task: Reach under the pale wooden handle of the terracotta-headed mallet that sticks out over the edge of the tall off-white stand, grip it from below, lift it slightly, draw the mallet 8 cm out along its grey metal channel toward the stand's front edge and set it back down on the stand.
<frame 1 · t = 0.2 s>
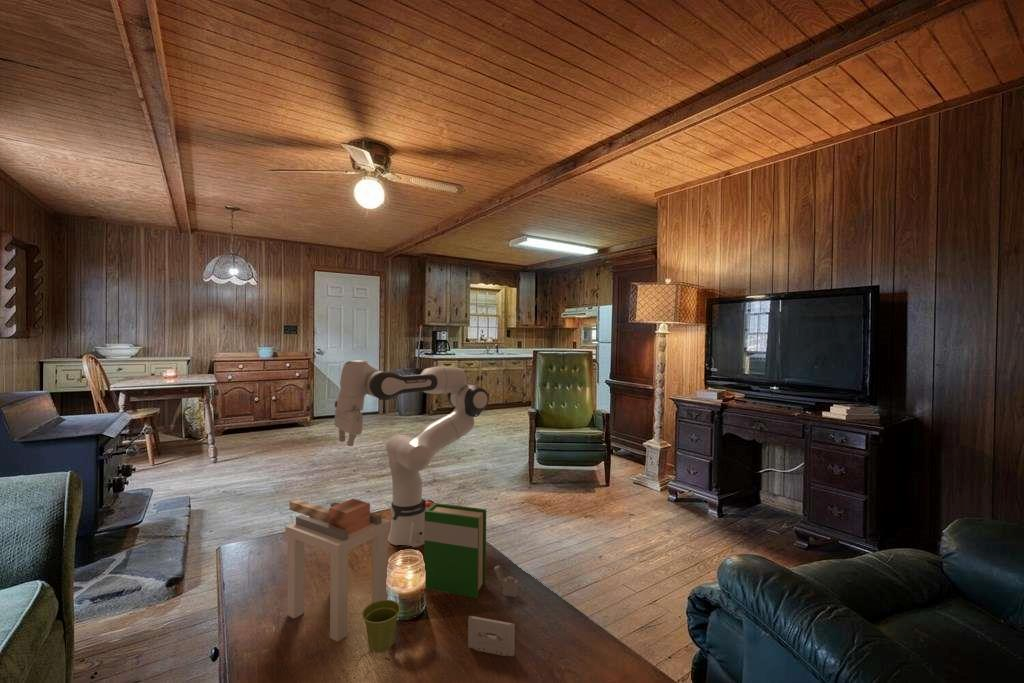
hand: (345, 443, 158), 40 cm above the table, tool pointing down, fingers open, 8 cm apart
cassette: (491, 651, 110), on the table
stand: (338, 611, 126), on the table
plant pot: (381, 645, 112), on the table
hardback book: (455, 587, 139), on the table
lighter: (505, 594, 135), on the table
mallet: (327, 519, 128), point 25 cm above the table, touching stand
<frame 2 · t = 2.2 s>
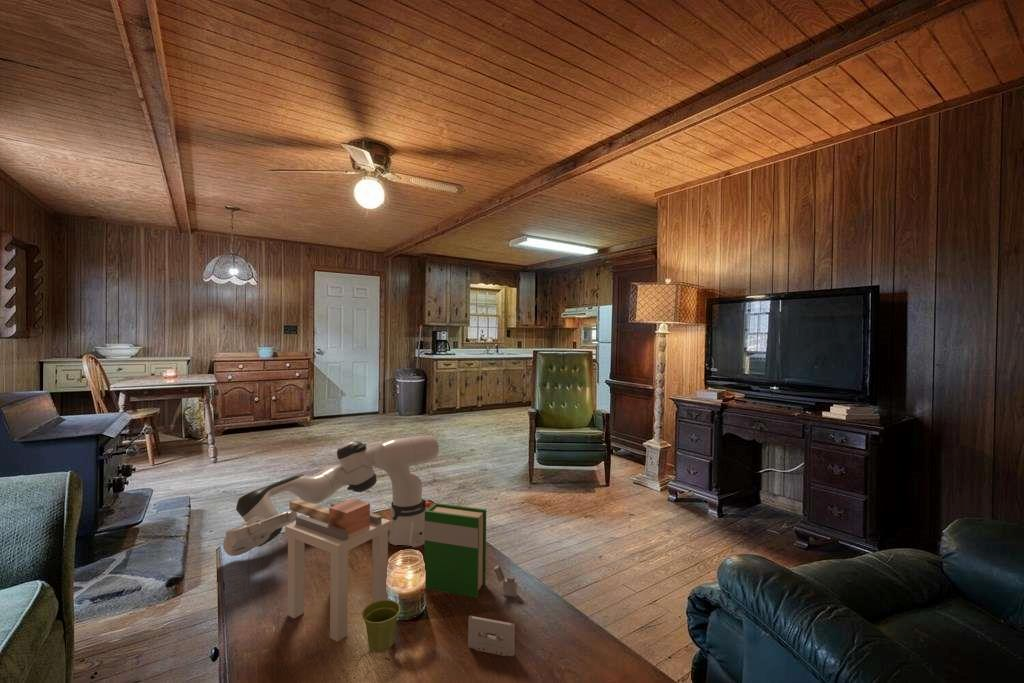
hand: (276, 519, 140), 20 cm above the table, tool pointing upward, fingers open, 8 cm apart
nothing on the table moved.
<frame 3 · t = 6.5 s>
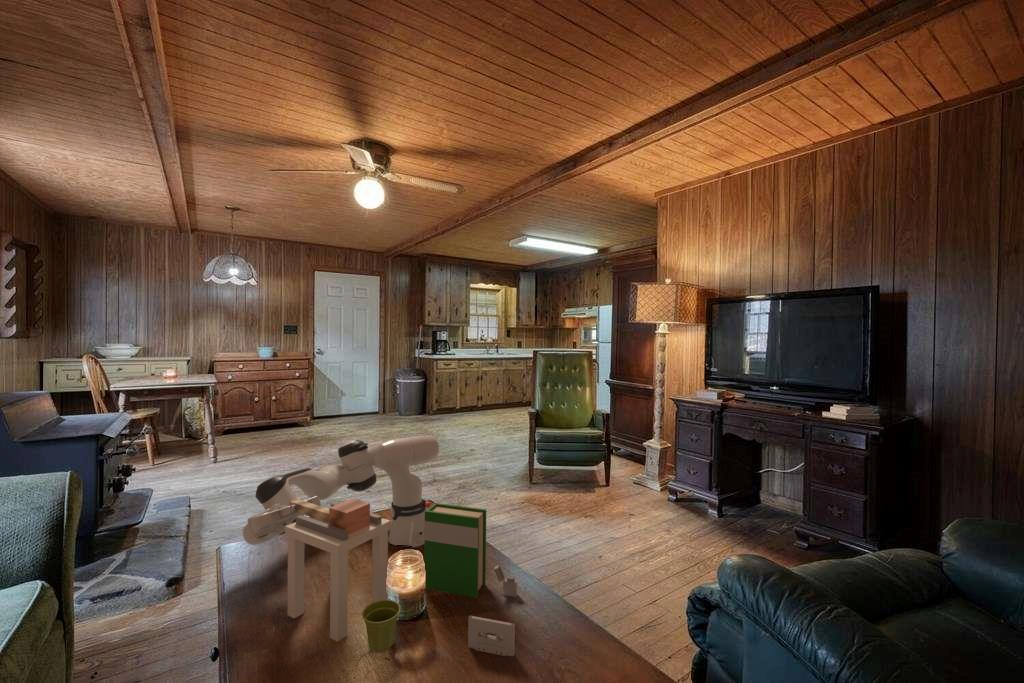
hand: (301, 505, 134), 27 cm above the table, tool pointing upward, fingers closed on mallet, 2 cm apart
mallet: (327, 519, 128), point 25 cm above the table, touching gripper, stand
everything else where it was.
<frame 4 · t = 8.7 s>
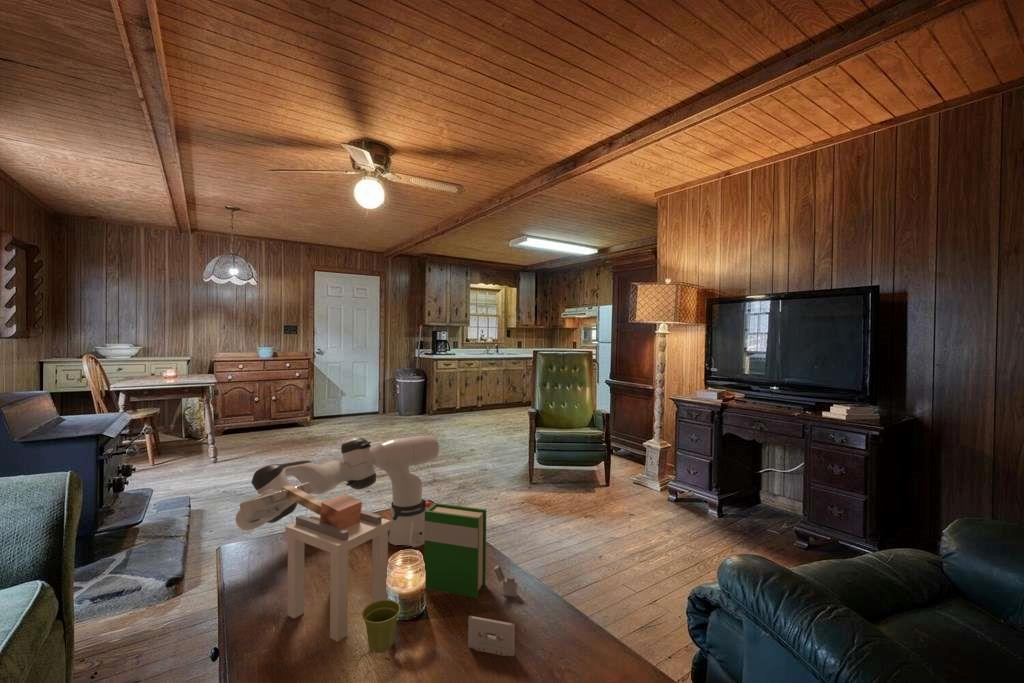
hand: (292, 490, 136), 31 cm above the table, tool pointing upward, fingers closed on mallet, 2 cm apart
mallet: (318, 510, 130), point 27 cm above the table, tilted 8°, touching gripper
everything else where it was.
when the fingers open (28 cm above the table, at t = 10.8 s): mallet stays where it is, resting on stand.
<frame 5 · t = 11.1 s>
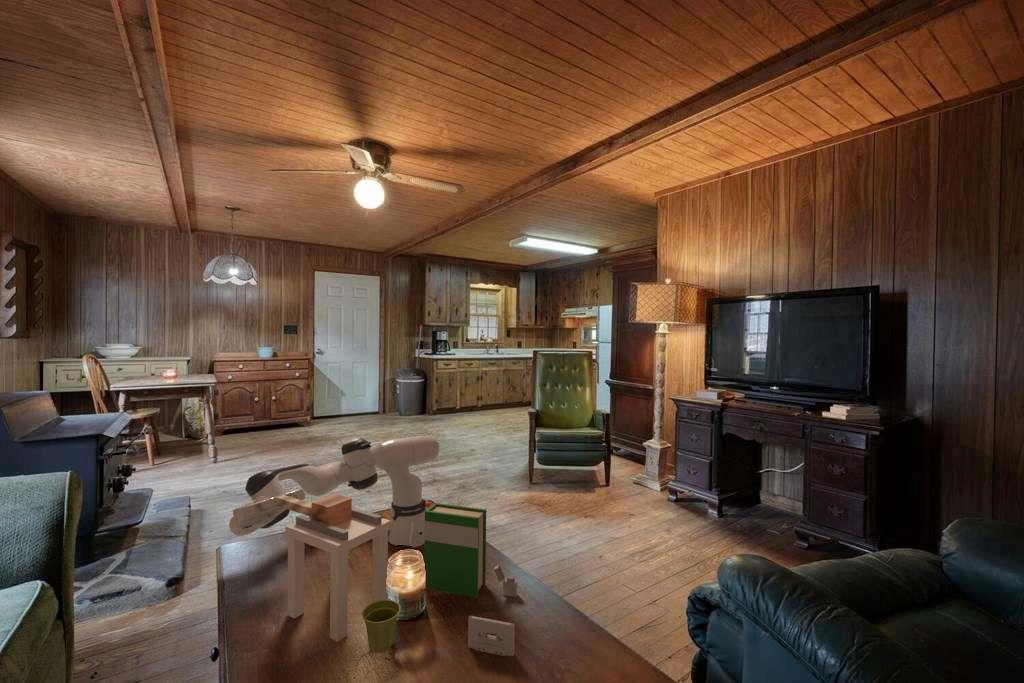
hand: (284, 496, 138), 28 cm above the table, tool pointing upward, fingers open, 5 cm apart
mallet: (310, 514, 132), point 25 cm above the table, touching stand
everything else where it was.
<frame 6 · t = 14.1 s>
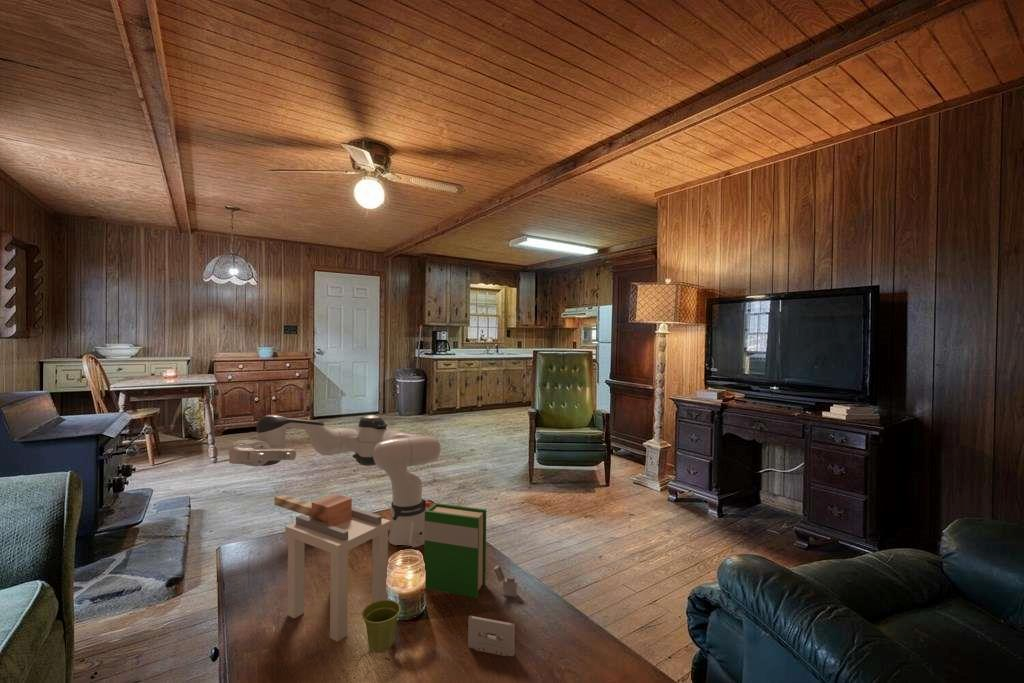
hand: (274, 456, 150), 37 cm above the table, tool horizontal, fingers open, 8 cm apart
nothing on the table moved.
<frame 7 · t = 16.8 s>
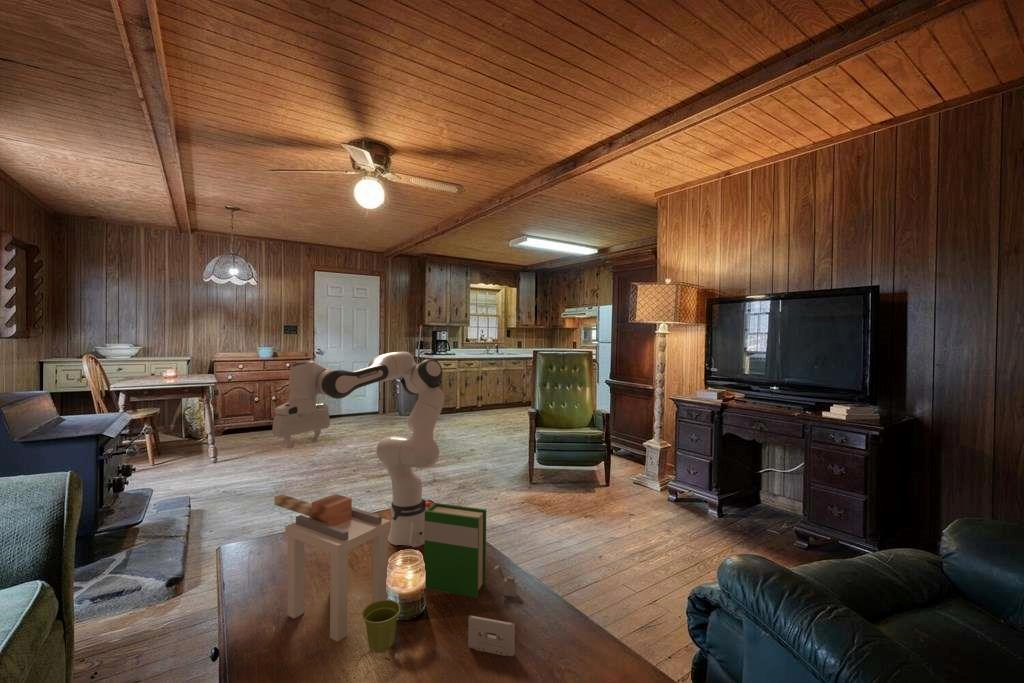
hand: (302, 445, 157), 39 cm above the table, tool pointing down, fingers open, 8 cm apart
nothing on the table moved.
at the end: mallet moved 7.5 cm from its start; mallet point 25.0 cm above the table; the gripper is holding nothing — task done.
